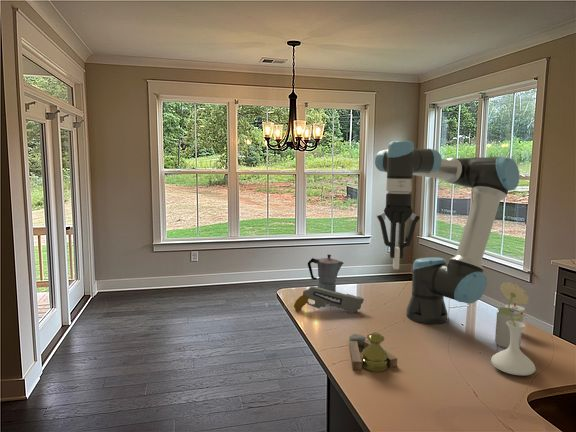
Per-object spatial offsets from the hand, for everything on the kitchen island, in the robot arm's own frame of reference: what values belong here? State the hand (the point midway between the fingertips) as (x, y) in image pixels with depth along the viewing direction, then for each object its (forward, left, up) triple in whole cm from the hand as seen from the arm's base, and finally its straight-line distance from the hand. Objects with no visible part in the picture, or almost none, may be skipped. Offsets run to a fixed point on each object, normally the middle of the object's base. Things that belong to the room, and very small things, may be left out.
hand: (395, 268), depth 131 cm
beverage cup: (-45, -18, -27) cm, 55 cm away
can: (-38, -6, -27) cm, 47 cm away
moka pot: (+21, -47, -27) cm, 58 cm away
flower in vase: (-32, +10, -27) cm, 43 cm away
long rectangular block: (+5, +6, -26) cm, 28 cm away
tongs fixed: (+11, +5, -26) cm, 29 cm away
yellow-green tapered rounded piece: (+7, +12, -27) cm, 30 cm away
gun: (+20, -33, -27) cm, 47 cm away
